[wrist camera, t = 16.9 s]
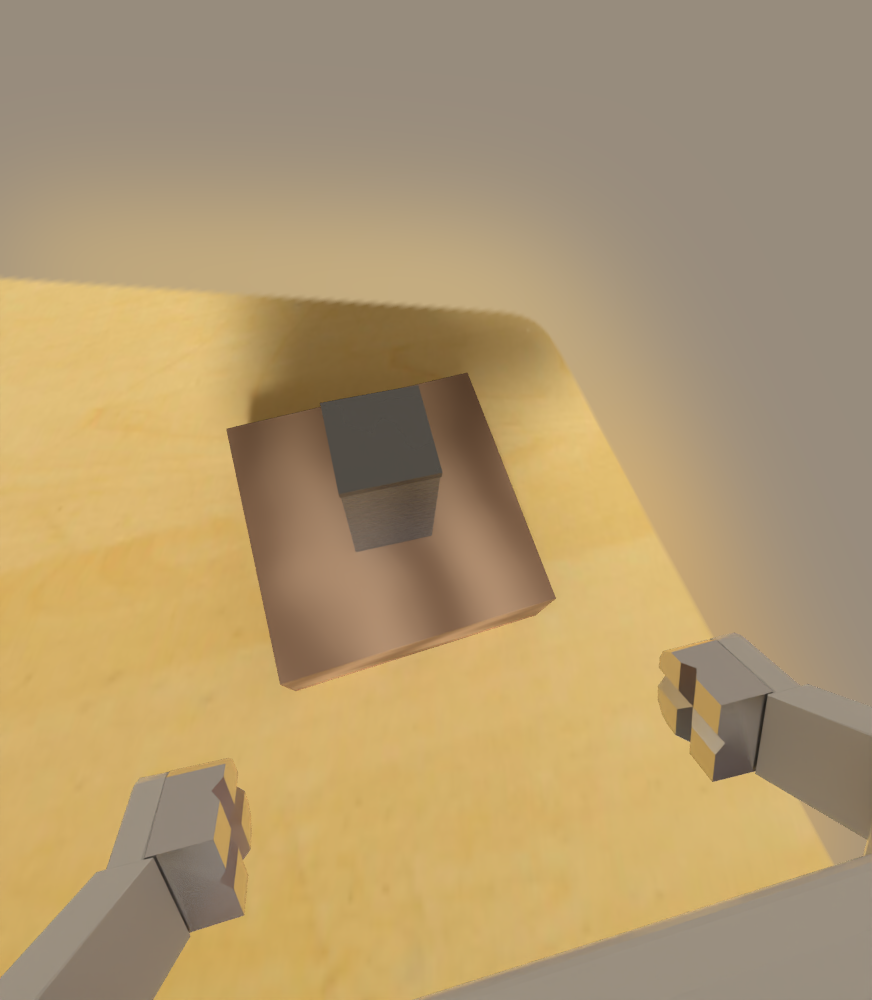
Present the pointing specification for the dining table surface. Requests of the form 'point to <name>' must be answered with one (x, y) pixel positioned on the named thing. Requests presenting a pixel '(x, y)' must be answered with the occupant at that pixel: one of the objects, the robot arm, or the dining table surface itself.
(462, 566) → the walnut block
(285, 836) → the dining table surface
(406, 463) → the grey tin
